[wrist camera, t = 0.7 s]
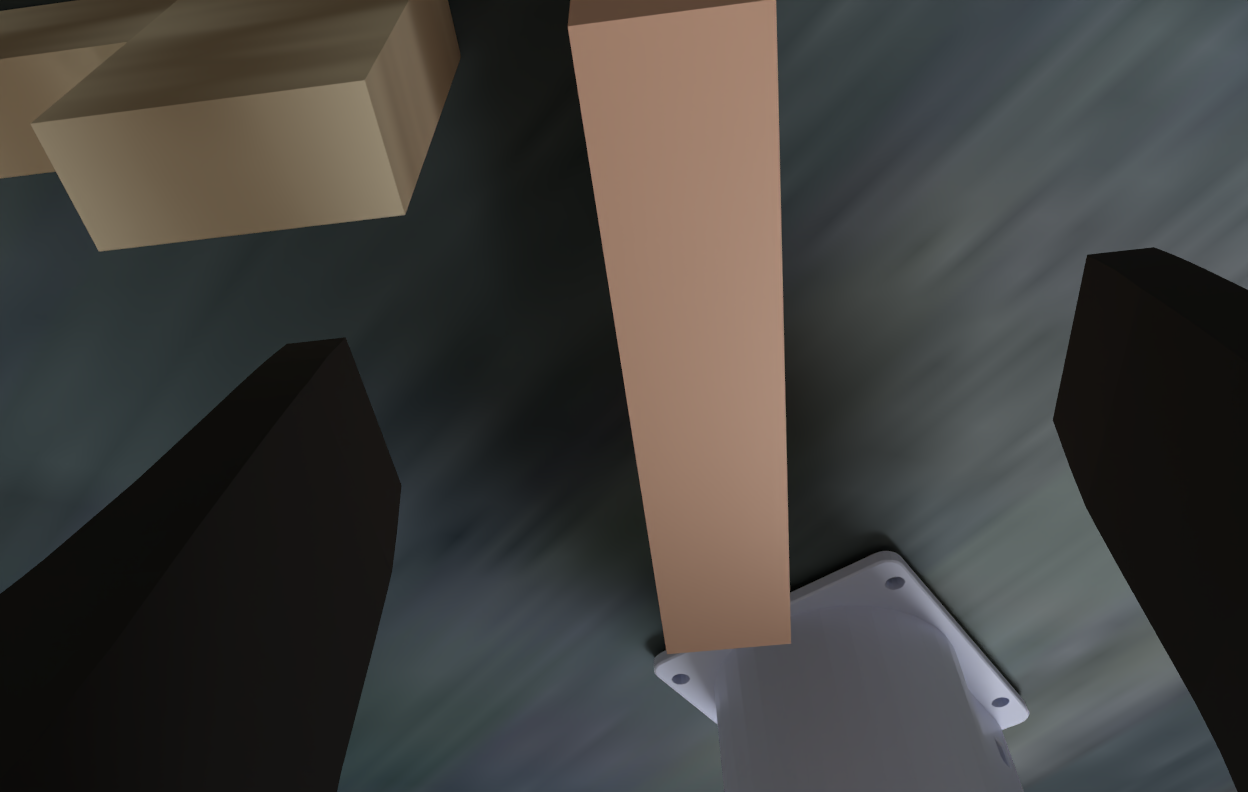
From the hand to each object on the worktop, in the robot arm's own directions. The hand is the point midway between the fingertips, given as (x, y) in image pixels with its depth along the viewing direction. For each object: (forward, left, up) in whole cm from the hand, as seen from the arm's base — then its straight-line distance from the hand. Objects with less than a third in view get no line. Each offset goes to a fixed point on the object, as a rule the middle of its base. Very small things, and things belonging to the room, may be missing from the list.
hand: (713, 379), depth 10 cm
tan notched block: (+6, +8, -10) cm, 14 cm away
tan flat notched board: (-3, +2, -10) cm, 10 cm away
